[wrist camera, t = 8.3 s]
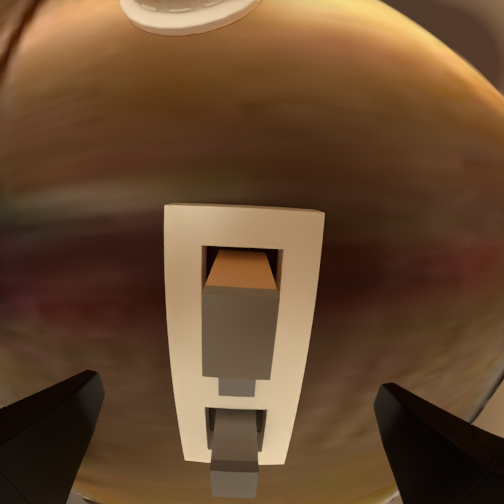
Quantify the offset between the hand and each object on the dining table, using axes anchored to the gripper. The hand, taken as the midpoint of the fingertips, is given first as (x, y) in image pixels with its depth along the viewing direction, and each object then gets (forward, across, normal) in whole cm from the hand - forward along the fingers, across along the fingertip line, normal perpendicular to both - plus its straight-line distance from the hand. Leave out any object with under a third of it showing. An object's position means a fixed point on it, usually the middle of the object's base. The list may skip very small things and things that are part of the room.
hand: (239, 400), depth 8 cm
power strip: (+12, 0, +11) cm, 16 cm away
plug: (+12, 0, 0) cm, 12 cm away
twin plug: (+12, 0, +12) cm, 17 cm away
